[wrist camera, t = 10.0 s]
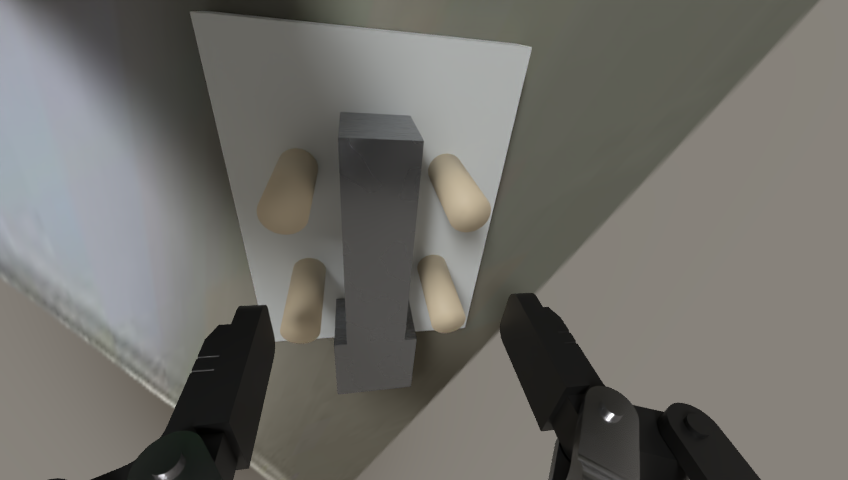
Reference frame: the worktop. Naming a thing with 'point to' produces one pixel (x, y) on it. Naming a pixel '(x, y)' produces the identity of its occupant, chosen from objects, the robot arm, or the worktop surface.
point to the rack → (319, 158)
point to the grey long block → (377, 250)
